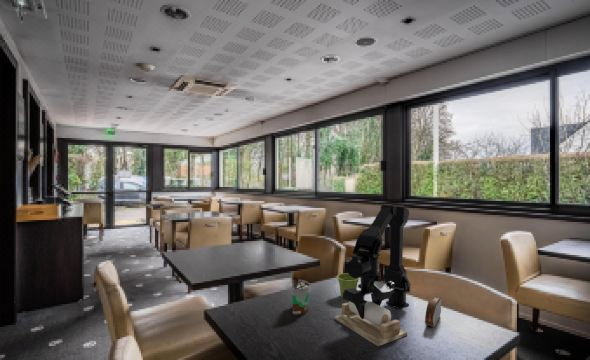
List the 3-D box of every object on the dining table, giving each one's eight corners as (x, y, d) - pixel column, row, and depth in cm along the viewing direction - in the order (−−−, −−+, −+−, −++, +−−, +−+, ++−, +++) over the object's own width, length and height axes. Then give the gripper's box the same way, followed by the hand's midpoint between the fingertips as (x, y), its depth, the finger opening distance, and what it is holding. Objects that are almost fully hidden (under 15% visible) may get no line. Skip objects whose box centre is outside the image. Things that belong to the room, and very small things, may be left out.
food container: (308, 318, 112) (308, 291, 112) (291, 317, 113) (291, 289, 113) (313, 305, 124) (313, 280, 124) (298, 303, 125) (298, 279, 125)
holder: (361, 311, 118) (361, 298, 118) (407, 335, 100) (407, 319, 100) (334, 319, 112) (334, 305, 112) (378, 346, 94) (378, 329, 94)
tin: (433, 313, 117) (433, 291, 117) (442, 315, 115) (443, 292, 115) (424, 329, 105) (424, 304, 105) (434, 331, 103) (434, 306, 103)
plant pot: (361, 301, 128) (361, 280, 128) (338, 301, 128) (338, 280, 128) (357, 293, 137) (357, 273, 137) (335, 292, 137) (335, 273, 137)
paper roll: (348, 313, 111) (348, 296, 111) (360, 309, 114) (360, 293, 114) (378, 330, 98) (378, 311, 98) (391, 326, 101) (391, 307, 101)
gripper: (365, 282, 94) (365, 333, 94) (407, 272, 104) (406, 319, 104) (341, 272, 104) (341, 319, 104) (381, 264, 113) (381, 307, 113)
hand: (368, 316), depth 106 cm, fingers closed on paper roll, 6 cm apart
